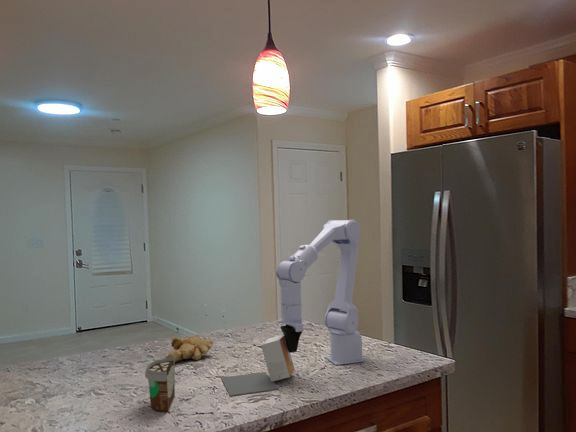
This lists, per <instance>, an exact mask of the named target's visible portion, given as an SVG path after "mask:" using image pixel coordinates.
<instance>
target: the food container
mask: <svg viewBox="0 0 576 432" xmlns="http://www.w3.org/2000/svg"><path fill="white" fill-rule="evenodd" d="M175 365H176V364H175V360H174V358H166V357H165V358H161V359H158V360H155V361H151V362H150V363H149V364H148V365H147V367H146V368H145V373H144V377H145V378H146V379H147V382H148V390H149V400H150V409H151V410H152V411H154V412H156V413H167V412H168V413H170V411H171V408H172V405H173V403H174V401H175V399H176V395H175V393H176V390H175V389H176V387H175V385H176V384H175V383H176V382H175V377H176V375H175Z"/></svg>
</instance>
